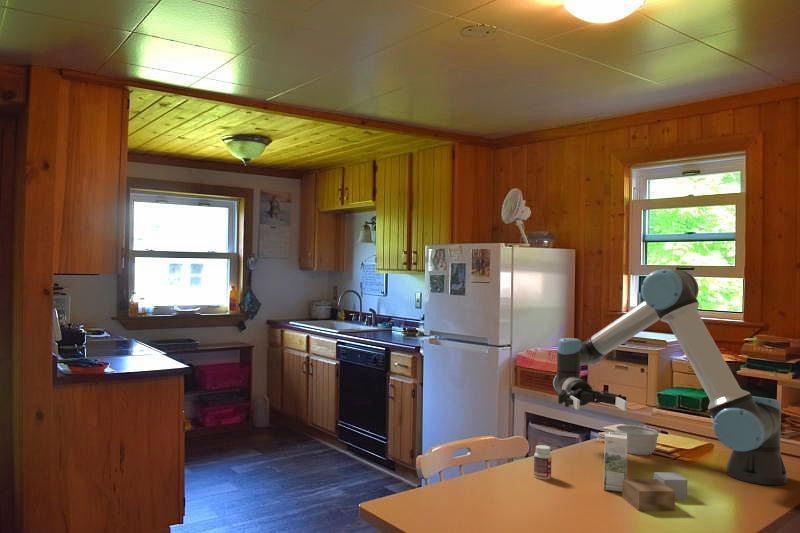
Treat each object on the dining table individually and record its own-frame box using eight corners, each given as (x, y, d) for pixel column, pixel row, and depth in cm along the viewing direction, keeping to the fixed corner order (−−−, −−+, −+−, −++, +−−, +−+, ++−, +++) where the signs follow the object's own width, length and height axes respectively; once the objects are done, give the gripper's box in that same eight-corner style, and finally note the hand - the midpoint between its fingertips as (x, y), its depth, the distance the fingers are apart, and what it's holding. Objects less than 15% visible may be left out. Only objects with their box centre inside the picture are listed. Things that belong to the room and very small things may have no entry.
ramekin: (661, 450, 206) (661, 428, 206) (653, 459, 195) (654, 436, 195) (620, 443, 213) (620, 422, 213) (610, 451, 202) (610, 430, 202)
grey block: (675, 491, 165) (676, 472, 165) (687, 499, 159) (687, 479, 159) (653, 491, 165) (653, 472, 165) (664, 499, 159) (664, 479, 159)
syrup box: (626, 486, 167) (627, 432, 167) (626, 494, 161) (627, 437, 162) (603, 484, 169) (604, 430, 169) (603, 490, 163) (604, 435, 164)
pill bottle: (551, 480, 171) (552, 449, 171) (533, 478, 172) (534, 448, 172) (550, 475, 175) (551, 445, 176) (533, 473, 176) (534, 444, 176)
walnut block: (656, 498, 159) (656, 479, 159) (674, 512, 150) (675, 491, 150) (622, 498, 158) (622, 479, 159) (638, 512, 150) (639, 491, 150)
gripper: (616, 404, 197) (645, 420, 176) (538, 402, 196) (558, 417, 175) (616, 380, 197) (645, 393, 176) (538, 378, 196) (558, 391, 175)
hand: (602, 405), depth 175 cm, fingers open, 13 cm apart
